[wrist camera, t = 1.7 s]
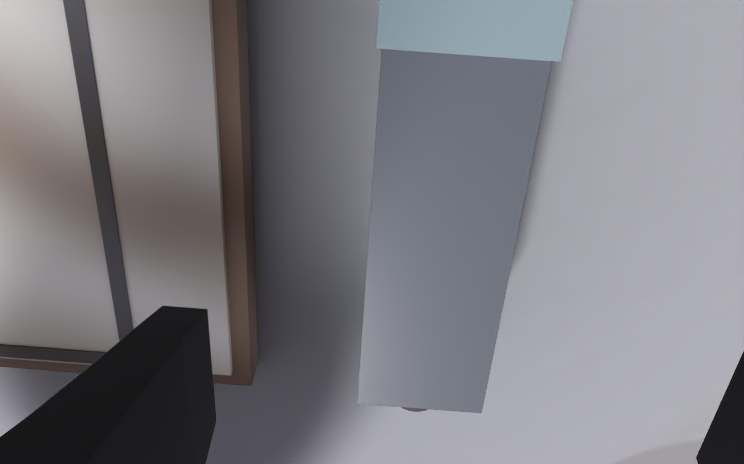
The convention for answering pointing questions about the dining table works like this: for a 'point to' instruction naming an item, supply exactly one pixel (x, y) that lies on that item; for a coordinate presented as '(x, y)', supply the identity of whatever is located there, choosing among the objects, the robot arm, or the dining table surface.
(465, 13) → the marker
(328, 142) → the dining table surface
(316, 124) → the dining table surface
